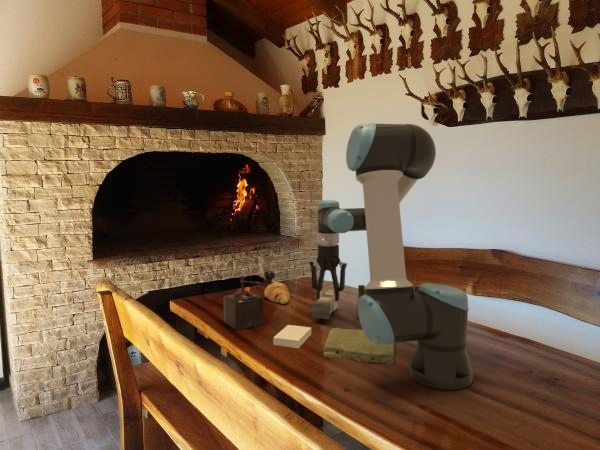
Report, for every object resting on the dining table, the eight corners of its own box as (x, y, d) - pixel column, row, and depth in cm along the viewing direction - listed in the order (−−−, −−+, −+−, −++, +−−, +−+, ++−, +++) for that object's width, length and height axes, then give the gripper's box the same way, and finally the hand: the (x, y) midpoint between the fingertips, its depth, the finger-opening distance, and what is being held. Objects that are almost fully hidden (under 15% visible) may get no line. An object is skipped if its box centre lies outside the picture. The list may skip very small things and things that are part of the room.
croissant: (292, 313, 176) (301, 294, 177) (270, 304, 172) (280, 285, 173) (274, 298, 196) (282, 281, 196) (254, 289, 192) (263, 272, 192)
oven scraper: (328, 319, 152) (328, 304, 152) (311, 317, 154) (311, 303, 154) (341, 304, 169) (341, 291, 168) (326, 302, 171) (326, 289, 170)
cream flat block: (311, 335, 144) (298, 349, 133) (288, 332, 147) (273, 346, 136) (311, 327, 144) (298, 340, 133) (287, 324, 147) (273, 337, 136)
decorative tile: (330, 336, 144) (330, 325, 143) (394, 341, 140) (395, 329, 139) (320, 360, 126) (320, 348, 125) (394, 366, 122) (394, 354, 121)
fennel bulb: (375, 320, 158) (375, 286, 156) (363, 322, 156) (363, 288, 154) (365, 315, 163) (366, 282, 161) (354, 317, 161) (354, 284, 159)
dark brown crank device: (237, 331, 147) (236, 277, 145) (222, 322, 156) (221, 271, 154) (278, 322, 156) (277, 270, 154) (261, 313, 165) (261, 265, 163)
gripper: (301, 244, 159) (302, 309, 162) (349, 247, 153) (348, 314, 156) (308, 241, 166) (308, 303, 169) (354, 243, 160) (353, 308, 163)
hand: (328, 308), depth 162 cm, fingers closed on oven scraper, 4 cm apart
